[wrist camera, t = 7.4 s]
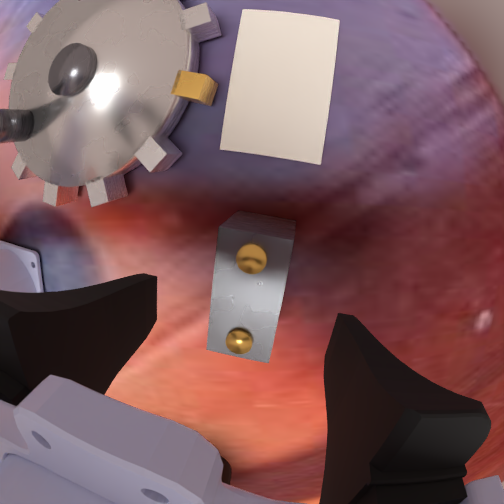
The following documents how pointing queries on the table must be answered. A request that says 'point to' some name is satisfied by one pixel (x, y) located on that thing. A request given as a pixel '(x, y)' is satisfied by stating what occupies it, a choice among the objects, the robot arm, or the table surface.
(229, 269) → the gray knob block
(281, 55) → the pad
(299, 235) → the table surface
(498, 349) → the table surface
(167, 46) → the sprocket
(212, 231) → the table surface
